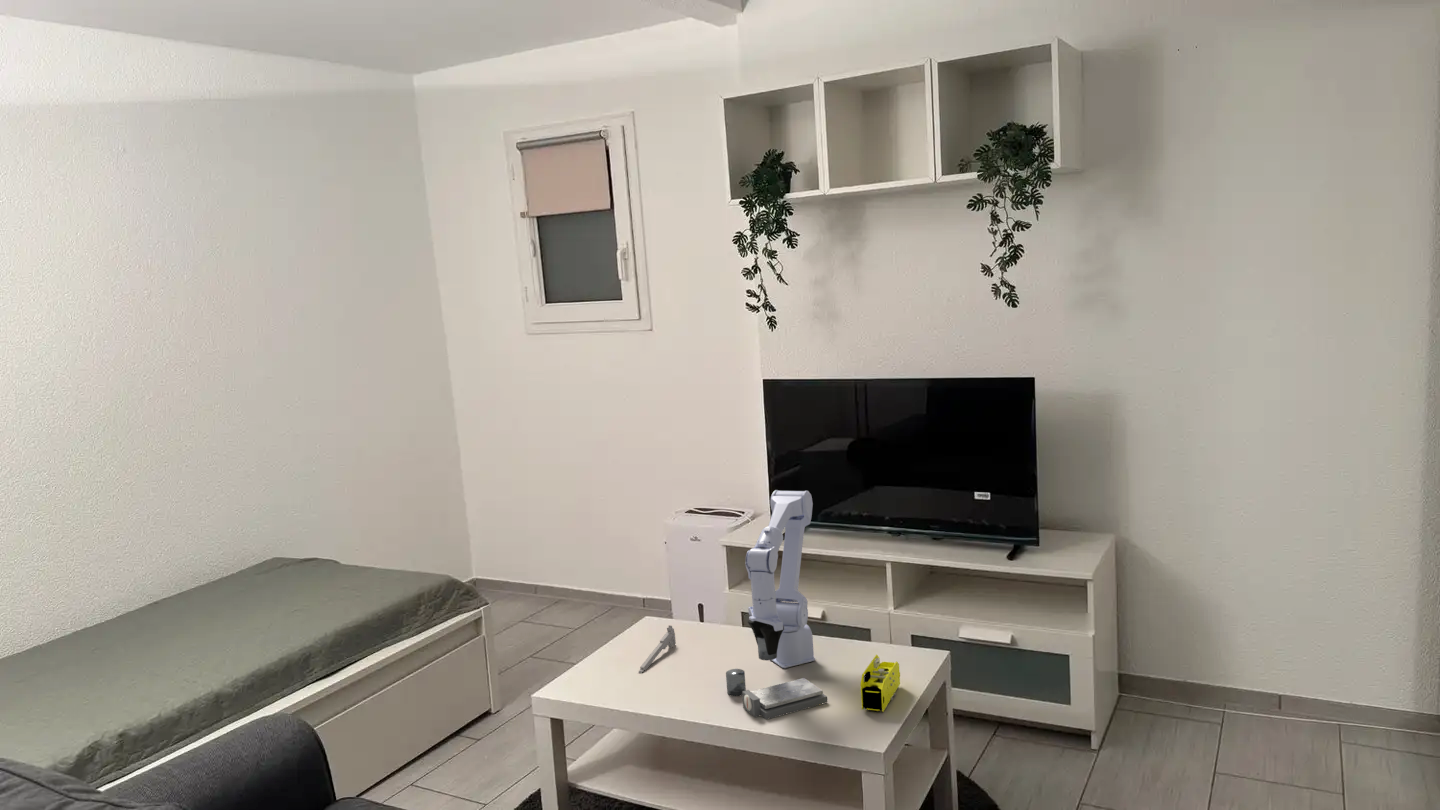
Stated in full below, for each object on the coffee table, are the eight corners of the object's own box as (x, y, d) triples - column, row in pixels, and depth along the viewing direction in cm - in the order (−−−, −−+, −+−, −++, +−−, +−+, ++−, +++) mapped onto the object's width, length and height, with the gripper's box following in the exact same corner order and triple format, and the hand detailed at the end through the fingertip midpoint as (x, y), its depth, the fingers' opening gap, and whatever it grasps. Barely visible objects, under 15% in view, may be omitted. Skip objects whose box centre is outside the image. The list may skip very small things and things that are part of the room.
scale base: (804, 686, 251) (803, 670, 251) (827, 702, 241) (826, 685, 241) (737, 704, 244) (736, 687, 244) (758, 721, 234) (757, 703, 234)
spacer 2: (771, 652, 257) (770, 632, 256) (780, 657, 253) (779, 637, 252) (755, 656, 255) (754, 636, 254) (763, 661, 251) (762, 641, 250)
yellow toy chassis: (878, 684, 250) (876, 651, 249) (901, 687, 248) (899, 653, 246) (860, 712, 235) (857, 677, 234) (884, 715, 233) (882, 679, 232)
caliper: (672, 645, 286) (670, 623, 285) (676, 645, 286) (674, 623, 285) (638, 674, 268) (636, 650, 267) (642, 674, 267) (640, 650, 266)
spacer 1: (741, 687, 254) (739, 667, 253) (749, 693, 250) (747, 673, 249) (724, 691, 252) (722, 671, 252) (732, 697, 248) (730, 677, 248)
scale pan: (803, 681, 250) (803, 677, 250) (823, 693, 242) (822, 690, 242) (747, 695, 244) (747, 692, 244) (765, 709, 236) (765, 705, 236)
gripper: (735, 592, 257) (739, 645, 259) (762, 608, 244) (766, 663, 246) (761, 587, 260) (765, 639, 262) (789, 602, 247) (792, 657, 248)
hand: (767, 650), depth 254 cm, fingers closed on spacer 2, 4 cm apart
